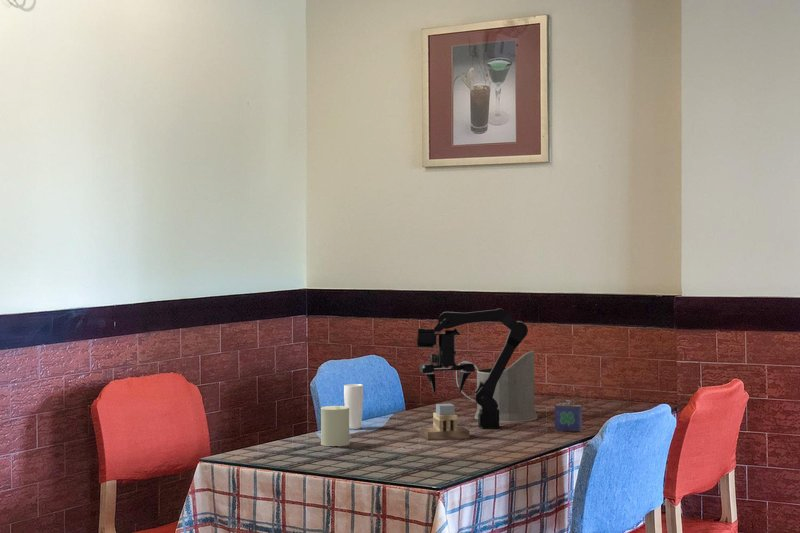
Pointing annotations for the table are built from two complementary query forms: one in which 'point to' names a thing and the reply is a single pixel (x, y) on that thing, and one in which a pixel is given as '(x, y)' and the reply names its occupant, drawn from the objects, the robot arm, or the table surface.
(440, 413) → the block
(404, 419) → the table surface
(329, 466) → the table surface
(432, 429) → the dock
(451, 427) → the block
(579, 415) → the flask
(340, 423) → the can
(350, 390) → the drinking glass
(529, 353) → the pitcher
